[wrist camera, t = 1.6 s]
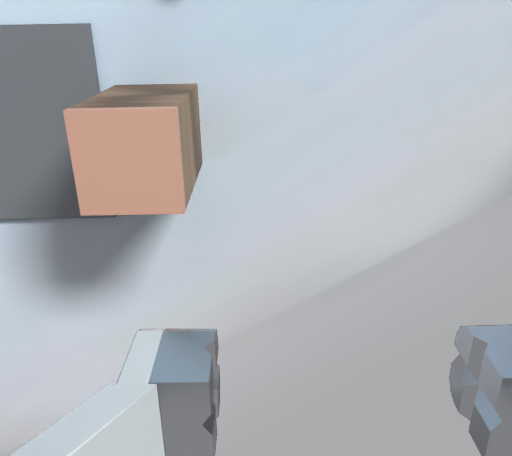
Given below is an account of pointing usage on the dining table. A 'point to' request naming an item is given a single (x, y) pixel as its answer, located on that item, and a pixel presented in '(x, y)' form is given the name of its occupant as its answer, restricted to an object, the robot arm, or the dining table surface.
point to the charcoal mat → (41, 116)
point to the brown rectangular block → (135, 149)
